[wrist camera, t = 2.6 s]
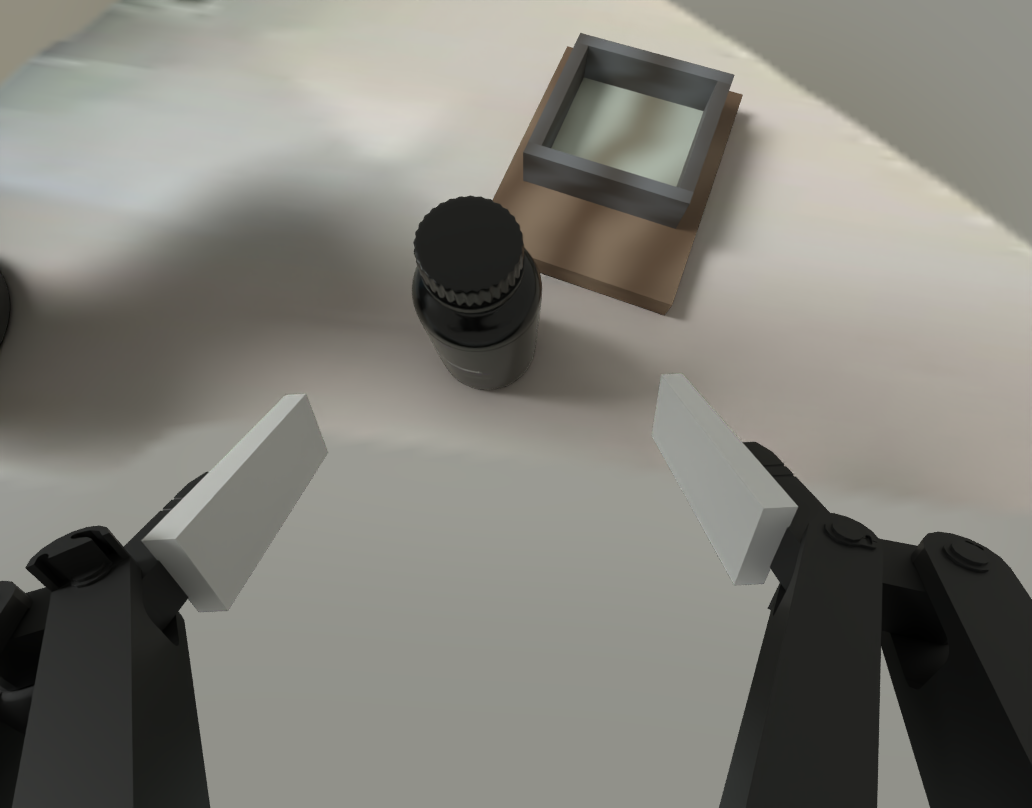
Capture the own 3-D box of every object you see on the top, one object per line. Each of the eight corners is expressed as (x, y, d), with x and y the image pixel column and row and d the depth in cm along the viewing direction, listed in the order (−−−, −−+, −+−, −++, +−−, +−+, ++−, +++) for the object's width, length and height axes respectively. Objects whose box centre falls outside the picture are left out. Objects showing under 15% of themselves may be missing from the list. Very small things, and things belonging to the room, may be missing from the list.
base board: (476, 250, 30) (469, 213, 26) (565, 65, 34) (570, 10, 31) (664, 315, 29) (686, 286, 25) (733, 112, 33) (761, 60, 29)
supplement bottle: (446, 399, 27) (389, 324, 16) (438, 311, 29) (380, 183, 17) (543, 385, 27) (558, 301, 16) (529, 298, 29) (533, 164, 17)
